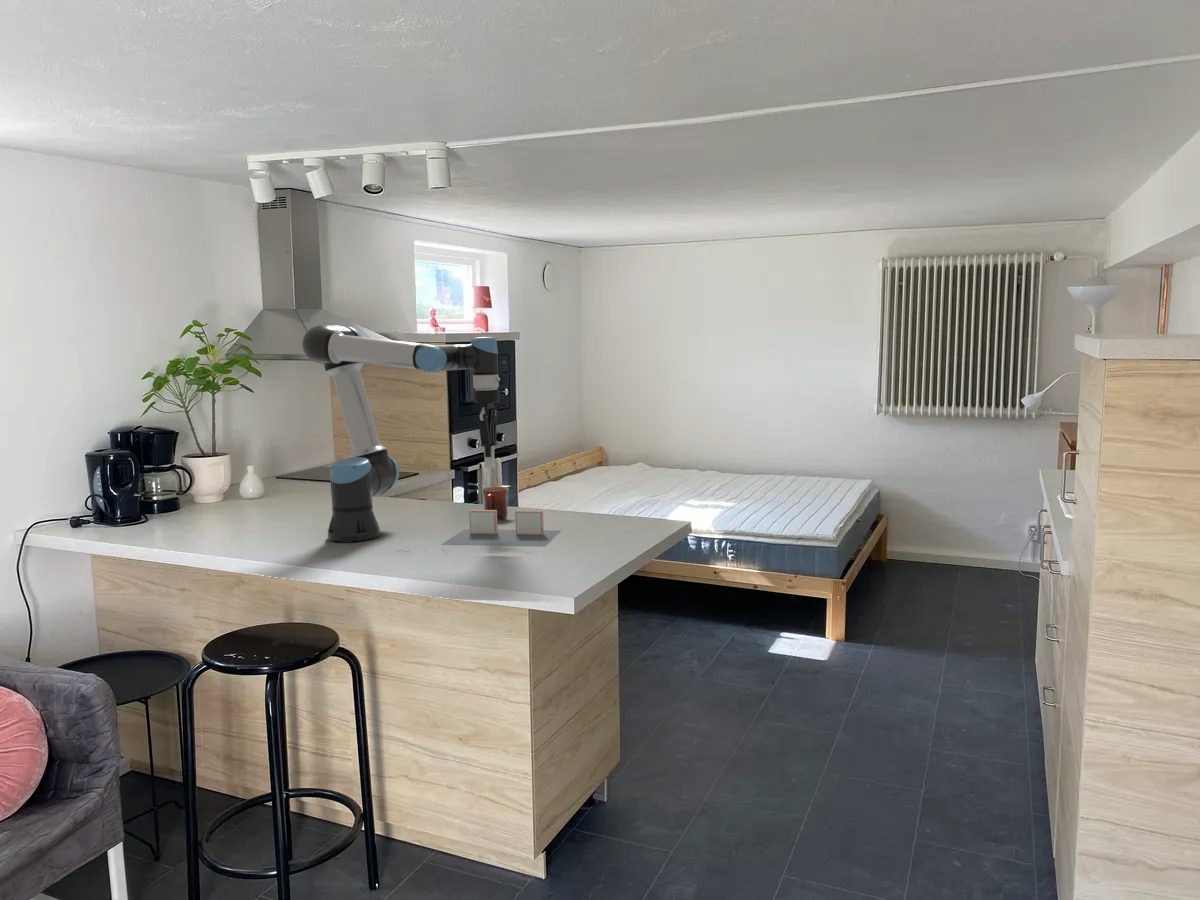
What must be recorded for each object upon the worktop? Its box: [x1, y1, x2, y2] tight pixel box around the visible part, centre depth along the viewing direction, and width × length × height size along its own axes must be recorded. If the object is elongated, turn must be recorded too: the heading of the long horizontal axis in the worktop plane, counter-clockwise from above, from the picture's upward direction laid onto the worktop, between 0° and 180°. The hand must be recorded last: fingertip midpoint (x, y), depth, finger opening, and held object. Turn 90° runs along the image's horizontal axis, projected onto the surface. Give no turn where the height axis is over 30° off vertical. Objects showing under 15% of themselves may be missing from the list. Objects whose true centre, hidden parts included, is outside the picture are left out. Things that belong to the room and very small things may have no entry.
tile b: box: [514, 509, 545, 535], centre depth 255 cm, size 8×2×7 cm, turn 80°
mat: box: [441, 528, 561, 547], centre depth 252 cm, size 30×20×1 cm, turn 80°
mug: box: [481, 486, 509, 521], centre depth 281 cm, size 12×9×10 cm
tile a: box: [468, 509, 499, 535], centre depth 257 cm, size 8×2×7 cm, turn 80°
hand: (489, 467), depth 263 cm, fingers closed
